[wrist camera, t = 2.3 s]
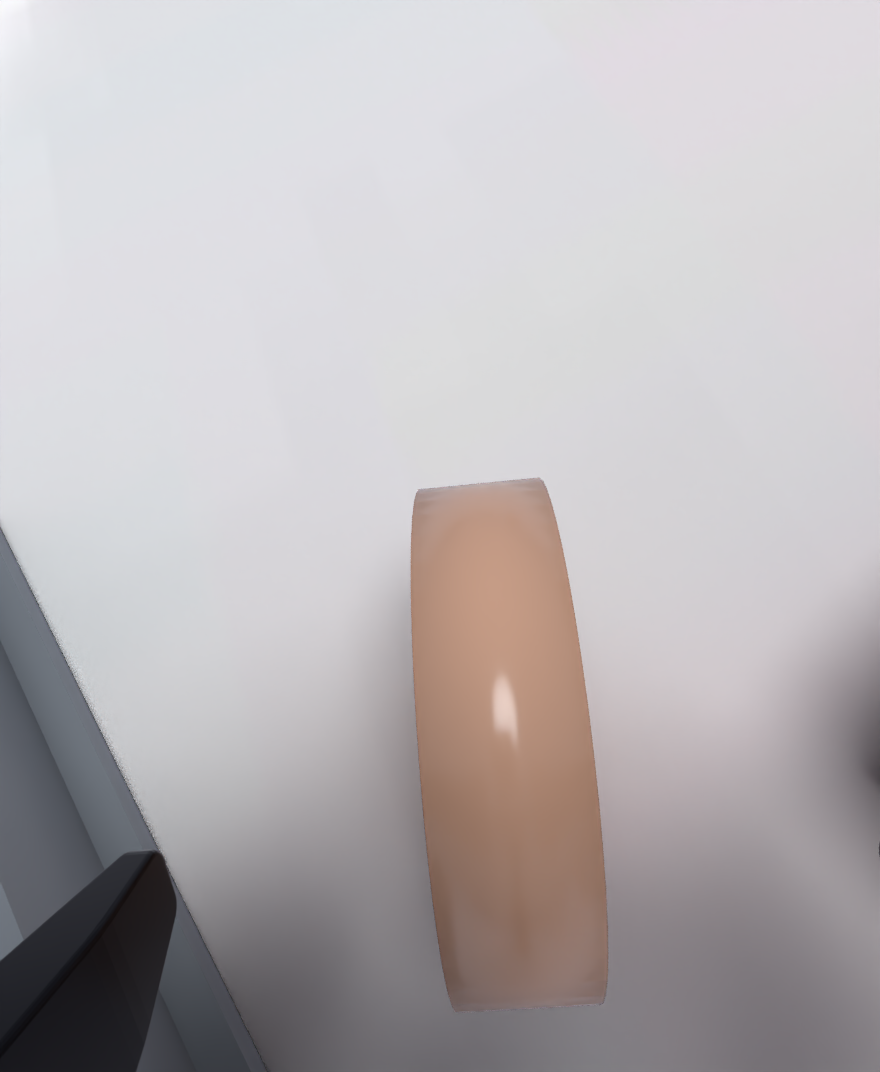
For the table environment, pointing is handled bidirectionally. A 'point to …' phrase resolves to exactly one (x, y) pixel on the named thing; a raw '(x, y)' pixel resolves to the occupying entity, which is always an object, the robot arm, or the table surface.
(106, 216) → the table surface
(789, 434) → the table surface
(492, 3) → the table surface
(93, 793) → the dish rack
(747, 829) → the table surface
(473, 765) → the peach disc
